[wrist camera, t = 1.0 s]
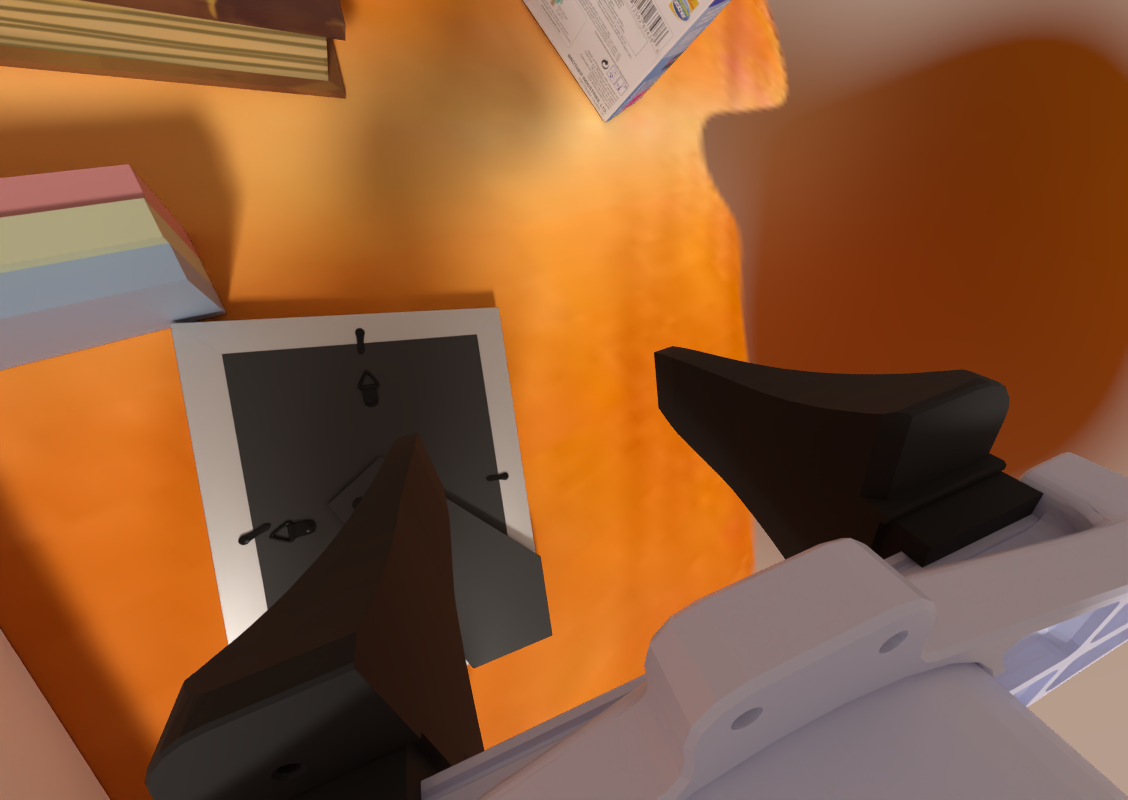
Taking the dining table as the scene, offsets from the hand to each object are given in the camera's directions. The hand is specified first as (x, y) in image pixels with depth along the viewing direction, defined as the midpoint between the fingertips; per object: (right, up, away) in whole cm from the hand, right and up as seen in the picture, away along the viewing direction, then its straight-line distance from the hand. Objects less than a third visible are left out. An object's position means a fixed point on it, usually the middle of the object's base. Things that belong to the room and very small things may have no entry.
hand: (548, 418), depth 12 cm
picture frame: (-10, -5, +13) cm, 17 cm away
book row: (-21, +5, +6) cm, 23 cm away
